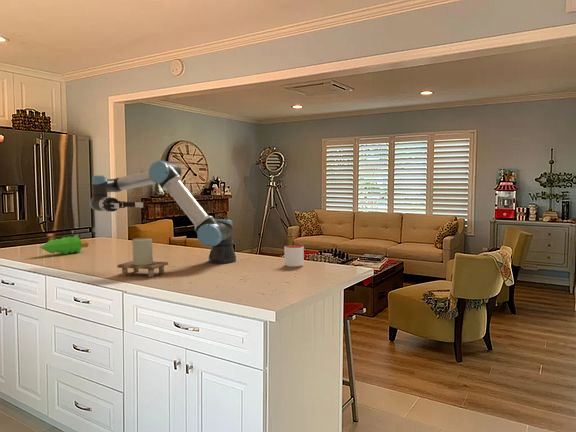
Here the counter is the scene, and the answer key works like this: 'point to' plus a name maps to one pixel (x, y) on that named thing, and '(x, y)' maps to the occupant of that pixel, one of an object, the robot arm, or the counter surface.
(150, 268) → the wooden pallet
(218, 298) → the counter surface
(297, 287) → the counter surface
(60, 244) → the decorative tree
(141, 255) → the grey-green block
